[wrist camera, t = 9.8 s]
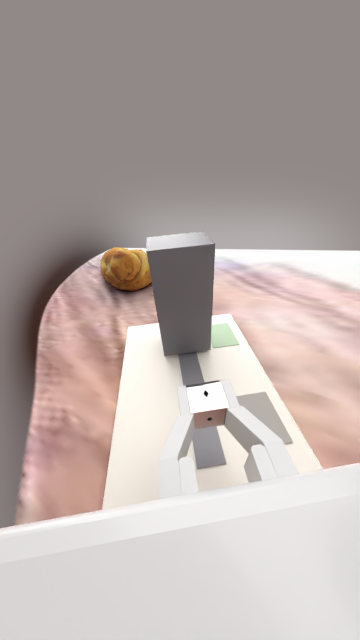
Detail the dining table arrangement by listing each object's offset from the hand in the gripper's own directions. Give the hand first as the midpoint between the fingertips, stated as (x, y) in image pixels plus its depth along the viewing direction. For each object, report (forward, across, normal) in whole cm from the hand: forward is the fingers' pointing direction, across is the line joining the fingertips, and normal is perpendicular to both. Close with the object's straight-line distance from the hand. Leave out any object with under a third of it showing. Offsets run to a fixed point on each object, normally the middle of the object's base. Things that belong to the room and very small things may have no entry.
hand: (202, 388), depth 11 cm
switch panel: (+5, 0, +7) cm, 9 cm away
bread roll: (+32, +9, +8) cm, 34 cm away
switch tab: (+10, 0, +5) cm, 11 cm away
